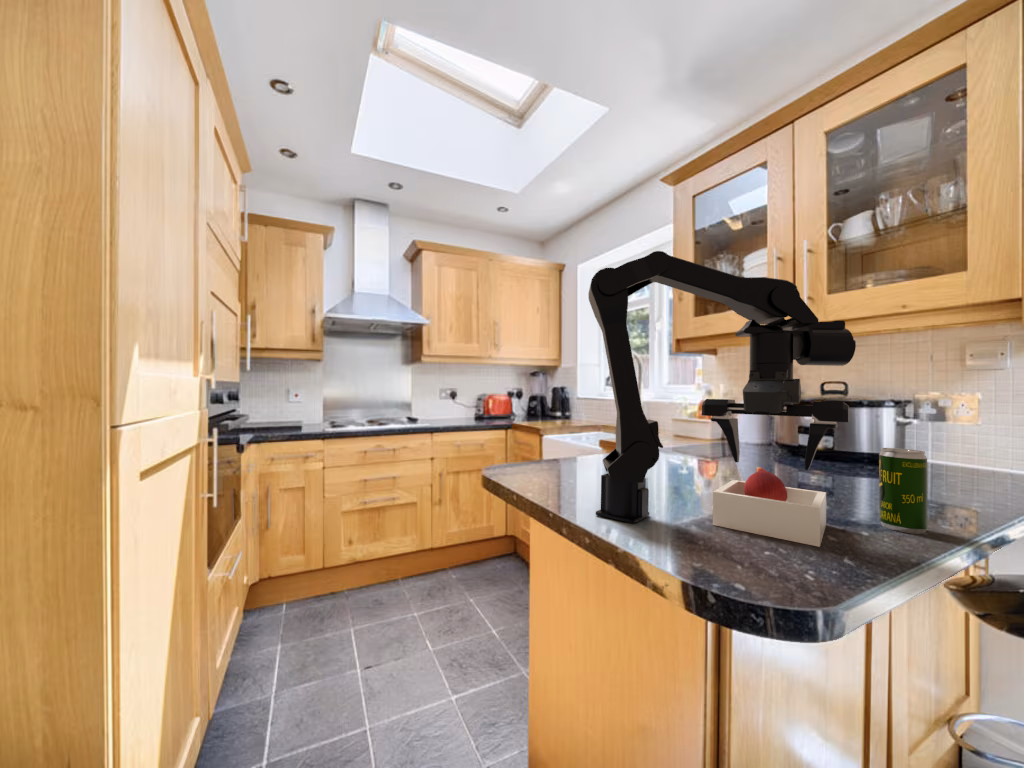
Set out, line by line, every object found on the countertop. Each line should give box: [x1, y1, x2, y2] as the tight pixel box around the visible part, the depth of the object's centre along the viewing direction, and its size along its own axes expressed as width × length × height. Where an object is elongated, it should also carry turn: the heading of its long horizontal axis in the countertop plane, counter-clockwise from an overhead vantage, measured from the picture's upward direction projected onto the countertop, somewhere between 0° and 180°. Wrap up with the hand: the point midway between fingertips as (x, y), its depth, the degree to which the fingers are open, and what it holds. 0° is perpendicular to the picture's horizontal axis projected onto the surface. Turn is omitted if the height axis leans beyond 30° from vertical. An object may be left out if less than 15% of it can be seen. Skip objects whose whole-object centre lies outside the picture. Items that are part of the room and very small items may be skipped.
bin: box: [712, 479, 827, 548], centre depth 63 cm, size 13×13×5 cm
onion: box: [744, 466, 787, 502], centre depth 66 cm, size 6×6×8 cm
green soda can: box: [878, 447, 929, 535], centre depth 63 cm, size 5×5×12 cm
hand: (770, 465), depth 63 cm, fingers open, 9 cm apart
